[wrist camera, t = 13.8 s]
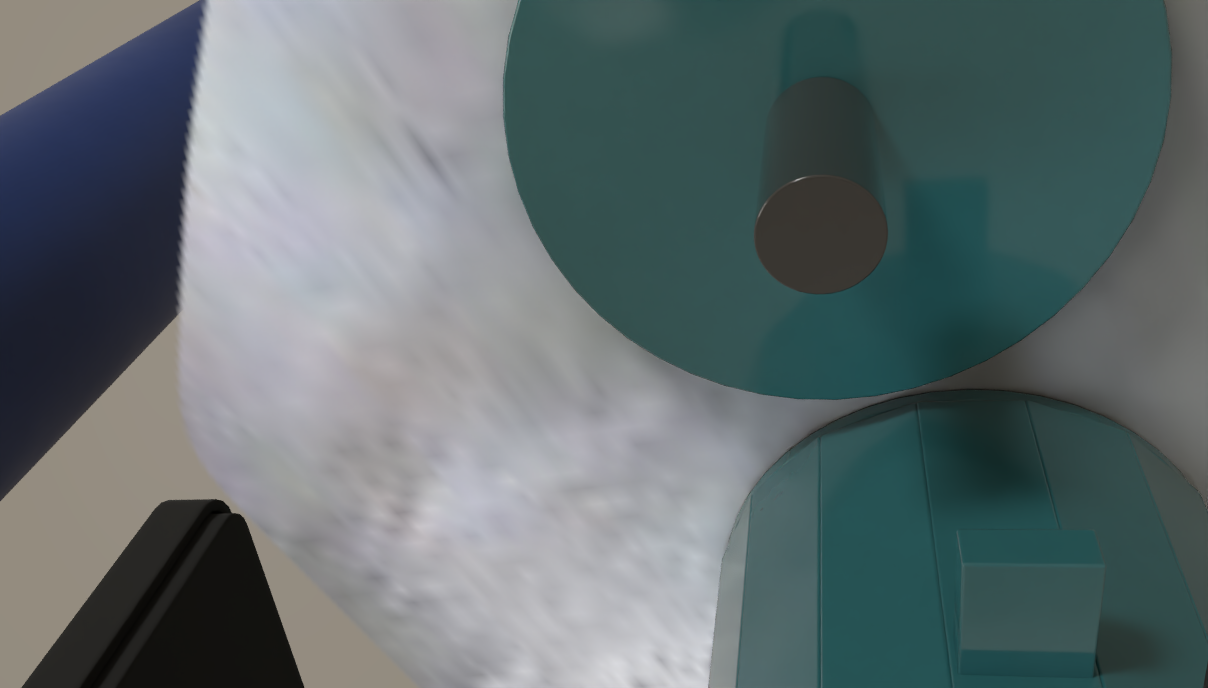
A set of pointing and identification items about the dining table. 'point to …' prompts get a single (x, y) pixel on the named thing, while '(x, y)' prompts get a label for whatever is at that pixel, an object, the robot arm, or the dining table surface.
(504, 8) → the dining table surface
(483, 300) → the dining table surface
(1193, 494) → the pot
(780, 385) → the lid
